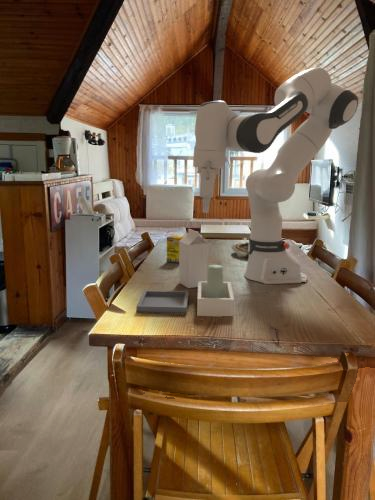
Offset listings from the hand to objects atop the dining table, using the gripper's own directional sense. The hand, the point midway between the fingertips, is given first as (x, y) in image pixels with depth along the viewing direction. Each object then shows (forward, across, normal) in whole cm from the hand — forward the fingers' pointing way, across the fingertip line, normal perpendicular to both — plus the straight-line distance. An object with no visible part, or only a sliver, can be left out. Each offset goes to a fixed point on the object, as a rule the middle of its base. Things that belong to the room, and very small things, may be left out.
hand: (205, 210), depth 113 cm
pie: (+28, +63, -23) cm, 73 cm away
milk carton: (+28, +16, +3) cm, 33 cm away
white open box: (+28, -4, -4) cm, 28 cm away
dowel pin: (+28, -4, -4) cm, 28 cm away
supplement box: (+29, +47, +12) cm, 57 cm away
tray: (+28, -4, +11) cm, 30 cm away
